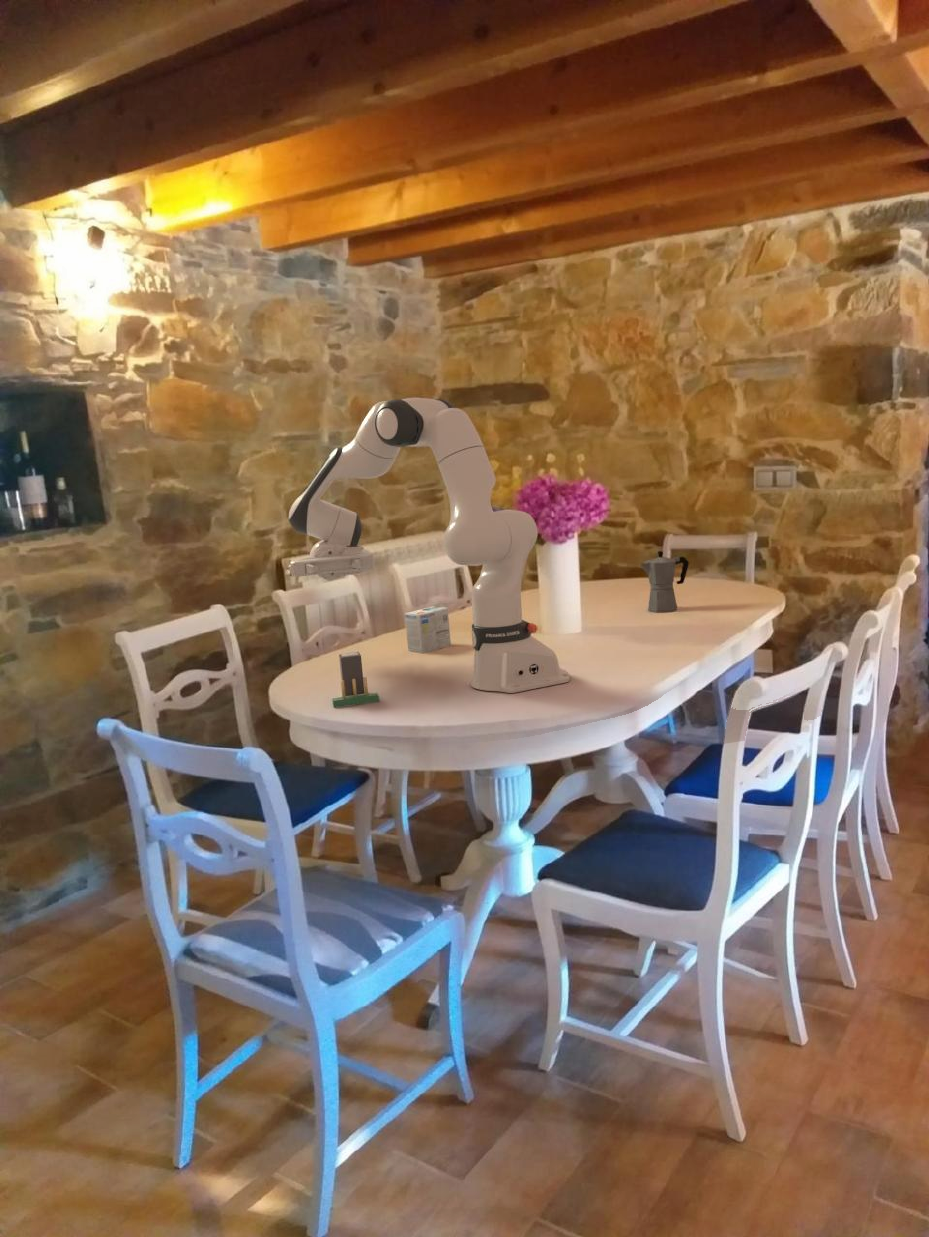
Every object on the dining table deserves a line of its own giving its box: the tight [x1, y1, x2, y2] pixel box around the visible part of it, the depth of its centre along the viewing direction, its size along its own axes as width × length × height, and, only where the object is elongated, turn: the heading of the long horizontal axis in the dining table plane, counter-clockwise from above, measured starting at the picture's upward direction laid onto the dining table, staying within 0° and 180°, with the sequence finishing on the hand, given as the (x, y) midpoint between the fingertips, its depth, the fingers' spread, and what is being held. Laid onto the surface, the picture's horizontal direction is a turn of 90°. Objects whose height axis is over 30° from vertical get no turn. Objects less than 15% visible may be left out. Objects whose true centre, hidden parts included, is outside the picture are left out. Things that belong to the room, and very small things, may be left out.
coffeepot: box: [639, 550, 690, 614], centre depth 282 cm, size 15×9×18 cm, turn 100°
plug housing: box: [338, 651, 365, 696], centre depth 209 cm, size 4×4×10 cm
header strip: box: [332, 676, 380, 708], centre depth 206 cm, size 10×2×6 cm, turn 103°
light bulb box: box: [404, 605, 452, 654], centre depth 255 cm, size 11×7×11 cm, turn 135°
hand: (335, 568), depth 219 cm, fingers open, 8 cm apart
